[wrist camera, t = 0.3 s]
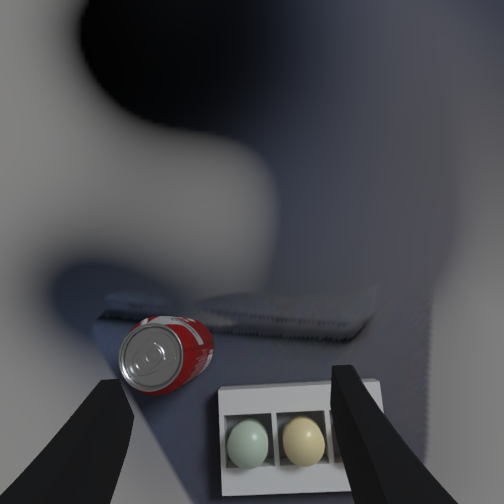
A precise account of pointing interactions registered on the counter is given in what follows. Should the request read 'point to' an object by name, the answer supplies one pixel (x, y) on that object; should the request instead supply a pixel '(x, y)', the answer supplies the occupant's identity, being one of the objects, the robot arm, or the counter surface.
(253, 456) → the sage button
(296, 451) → the mustard button
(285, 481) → the console
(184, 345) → the soda can
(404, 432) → the counter surface
